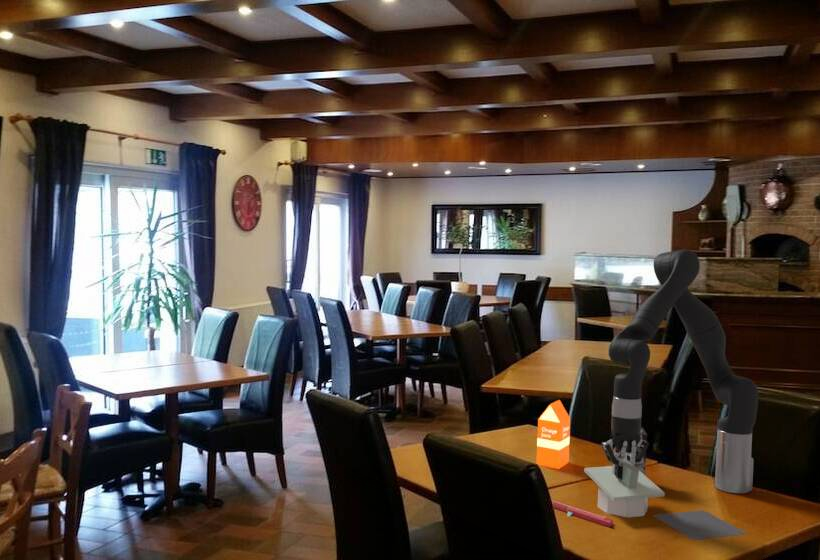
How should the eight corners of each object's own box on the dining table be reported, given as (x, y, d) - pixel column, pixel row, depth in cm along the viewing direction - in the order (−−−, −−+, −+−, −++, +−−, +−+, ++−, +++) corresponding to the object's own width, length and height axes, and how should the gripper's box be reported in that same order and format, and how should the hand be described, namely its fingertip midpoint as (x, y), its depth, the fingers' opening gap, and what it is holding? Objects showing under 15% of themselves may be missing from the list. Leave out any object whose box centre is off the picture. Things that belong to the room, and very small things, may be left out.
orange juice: (568, 462, 233) (571, 401, 232) (559, 469, 226) (561, 405, 225) (546, 457, 237) (548, 397, 236) (535, 464, 230) (538, 402, 229)
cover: (631, 467, 201) (635, 448, 200) (664, 496, 187) (668, 475, 186) (584, 471, 197) (587, 451, 195) (613, 500, 183) (617, 479, 181)
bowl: (628, 500, 200) (629, 480, 199) (655, 516, 188) (656, 495, 188) (590, 503, 196) (591, 483, 196) (615, 519, 185) (615, 498, 184)
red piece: (606, 533, 179) (616, 523, 182) (605, 526, 178) (615, 516, 181) (527, 506, 196) (537, 497, 199) (526, 499, 195) (536, 490, 198)
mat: (703, 511, 192) (703, 510, 192) (747, 535, 177) (747, 533, 177) (652, 516, 188) (652, 514, 188) (692, 541, 172) (692, 539, 172)
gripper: (640, 409, 196) (638, 472, 197) (595, 411, 192) (593, 475, 193) (657, 416, 189) (654, 481, 190) (611, 418, 185) (608, 484, 186)
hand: (623, 478), depth 192 cm, fingers closed on cover, 2 cm apart
